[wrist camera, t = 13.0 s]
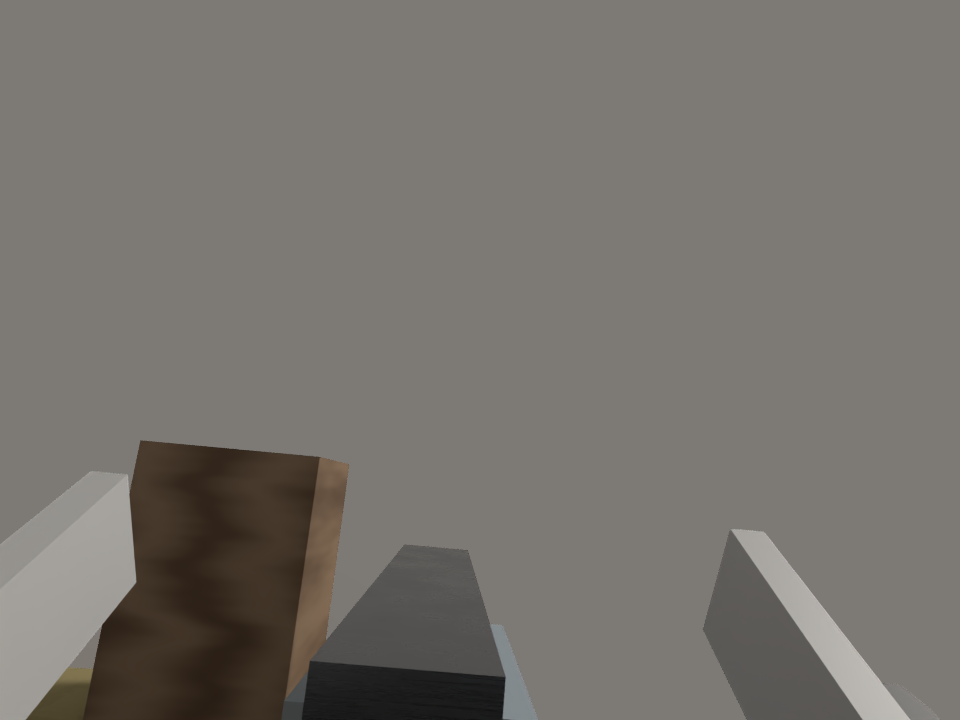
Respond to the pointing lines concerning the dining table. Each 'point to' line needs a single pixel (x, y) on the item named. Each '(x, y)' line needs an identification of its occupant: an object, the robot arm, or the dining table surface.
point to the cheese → (65, 697)
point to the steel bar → (411, 647)
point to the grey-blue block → (516, 698)
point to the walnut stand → (220, 584)
